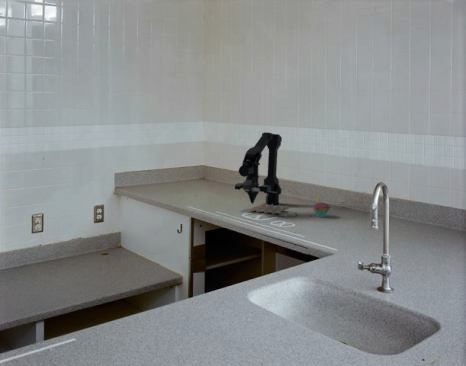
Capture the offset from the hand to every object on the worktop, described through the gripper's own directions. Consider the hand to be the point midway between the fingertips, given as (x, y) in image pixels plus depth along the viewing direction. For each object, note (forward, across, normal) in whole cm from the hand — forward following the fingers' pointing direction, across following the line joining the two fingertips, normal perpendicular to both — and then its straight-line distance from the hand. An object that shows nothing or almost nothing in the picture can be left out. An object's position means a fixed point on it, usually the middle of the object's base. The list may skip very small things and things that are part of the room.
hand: (252, 203), depth 293 cm
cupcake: (+5, +35, +7) cm, 36 cm away
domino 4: (+3, +12, 0) cm, 13 cm away
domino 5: (+3, +16, 0) cm, 16 cm away
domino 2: (+4, +3, 0) cm, 5 cm away
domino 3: (+4, +8, 0) cm, 8 cm away
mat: (+4, +7, 0) cm, 8 cm away
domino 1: (+4, -1, 0) cm, 4 cm away
